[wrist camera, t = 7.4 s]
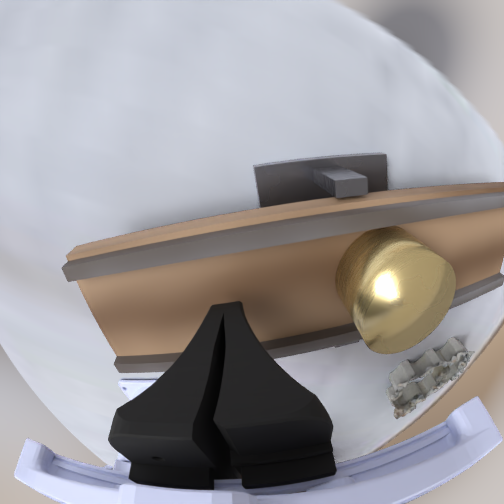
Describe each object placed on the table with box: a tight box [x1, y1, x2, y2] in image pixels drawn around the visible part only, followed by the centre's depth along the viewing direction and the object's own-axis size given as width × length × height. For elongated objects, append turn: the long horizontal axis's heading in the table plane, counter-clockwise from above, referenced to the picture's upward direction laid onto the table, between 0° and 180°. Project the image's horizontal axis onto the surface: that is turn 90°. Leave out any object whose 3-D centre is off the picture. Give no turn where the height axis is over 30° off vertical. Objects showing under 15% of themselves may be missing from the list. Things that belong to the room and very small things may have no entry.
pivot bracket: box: [253, 153, 387, 348], centre depth 15 cm, size 11×8×4 cm
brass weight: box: [335, 226, 456, 354], centre depth 11 cm, size 5×5×4 cm
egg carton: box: [386, 337, 474, 419], centre depth 23 cm, size 11×8×4 cm
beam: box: [62, 182, 504, 373], centre depth 13 cm, size 8×28×2 cm, turn 99°
